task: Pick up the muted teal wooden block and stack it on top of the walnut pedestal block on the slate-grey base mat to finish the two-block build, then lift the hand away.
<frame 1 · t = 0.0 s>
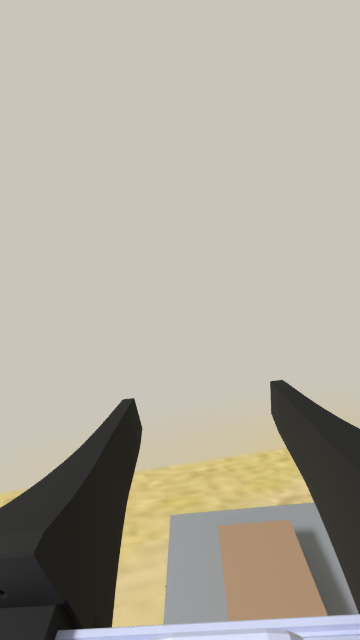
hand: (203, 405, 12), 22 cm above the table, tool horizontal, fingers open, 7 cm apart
build base: (267, 596, 20), on the table
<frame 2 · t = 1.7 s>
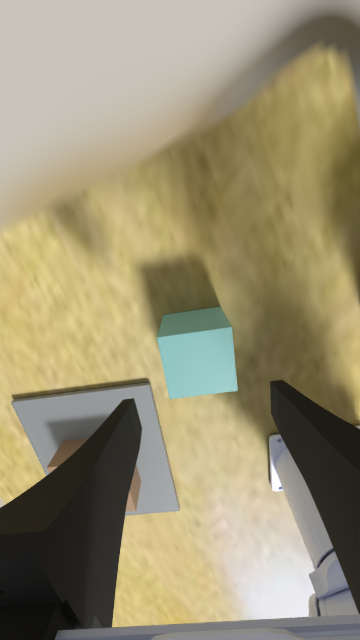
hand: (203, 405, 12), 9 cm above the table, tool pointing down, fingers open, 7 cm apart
build base: (104, 457, 26), on the table
teal block: (195, 336, 21), on the table
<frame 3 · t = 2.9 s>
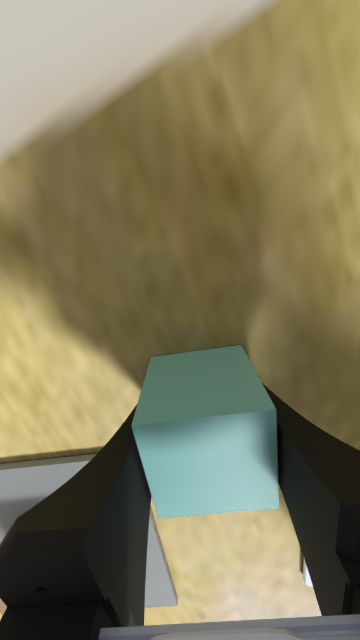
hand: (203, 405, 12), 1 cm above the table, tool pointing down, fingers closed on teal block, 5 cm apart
build base: (73, 542, 18), on the table
teal block: (201, 388, 13), on the table, touching gripper
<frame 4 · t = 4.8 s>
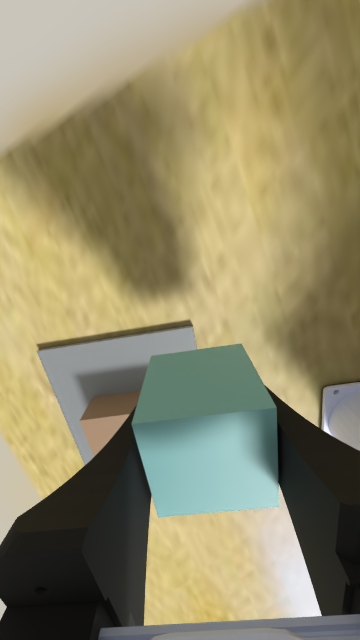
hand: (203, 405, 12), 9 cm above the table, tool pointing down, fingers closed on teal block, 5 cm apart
build base: (138, 417, 23), on the table
teal block: (201, 387, 13), point 7 cm above the table, touching gripper
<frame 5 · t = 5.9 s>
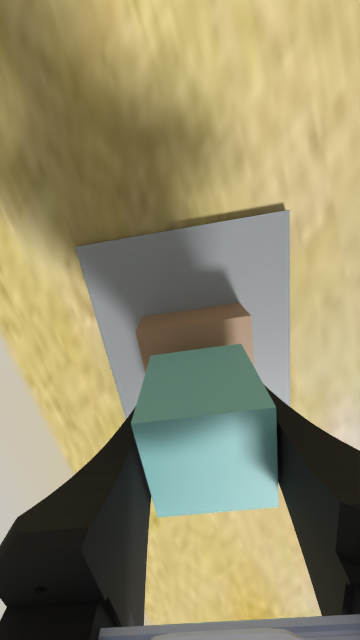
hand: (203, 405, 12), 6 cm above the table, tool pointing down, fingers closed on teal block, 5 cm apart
build base: (196, 349, 18), on the table
teal block: (201, 387, 13), point 5 cm above the table, touching gripper
when the fingers open (6 cm above the table, at t = 6.8 s): teal block drops 1 cm, resting on build base.
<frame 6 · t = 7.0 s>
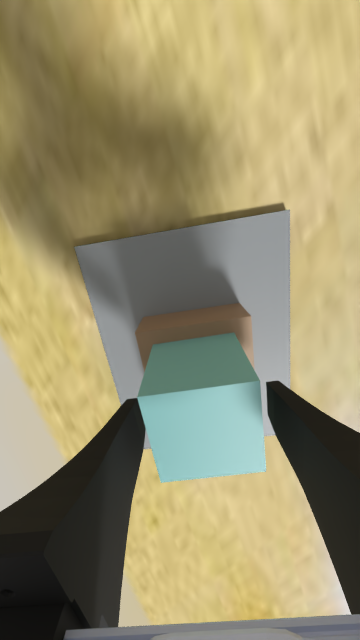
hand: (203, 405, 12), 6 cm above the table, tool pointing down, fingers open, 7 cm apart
build base: (196, 350, 18), on the table
teal block: (198, 373, 15), point 3 cm above the table, touching build base
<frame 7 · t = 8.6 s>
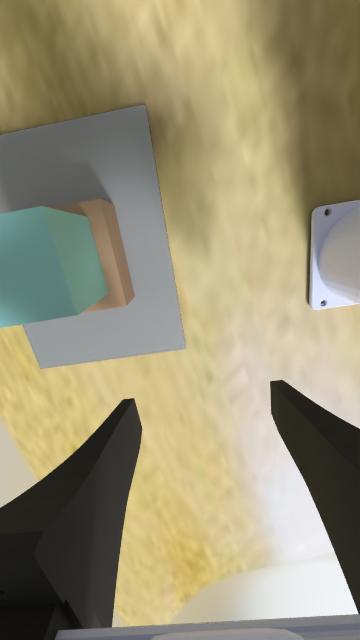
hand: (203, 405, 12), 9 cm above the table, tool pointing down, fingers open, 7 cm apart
build base: (85, 260, 19), on the table
teal block: (63, 263, 16), point 3 cm above the table, touching build base
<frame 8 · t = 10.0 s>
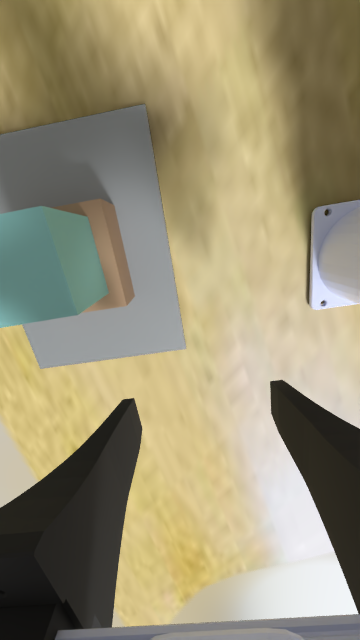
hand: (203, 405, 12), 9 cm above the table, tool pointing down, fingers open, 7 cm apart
build base: (85, 260, 19), on the table
teal block: (63, 263, 16), point 3 cm above the table, touching build base
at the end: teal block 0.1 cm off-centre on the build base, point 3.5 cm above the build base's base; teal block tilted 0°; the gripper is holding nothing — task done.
